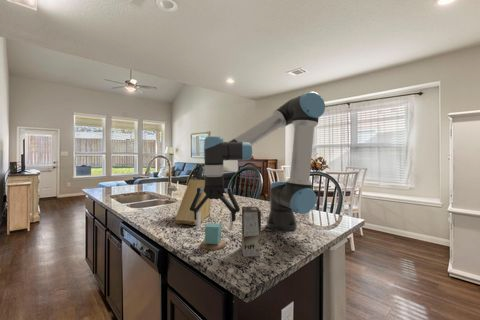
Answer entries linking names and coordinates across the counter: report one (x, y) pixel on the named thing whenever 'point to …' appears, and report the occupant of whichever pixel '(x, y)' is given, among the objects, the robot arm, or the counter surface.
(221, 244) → the post
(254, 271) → the counter surface
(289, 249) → the counter surface
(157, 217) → the counter surface
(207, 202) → the knife block
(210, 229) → the teal rectangular block
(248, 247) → the coffee box
